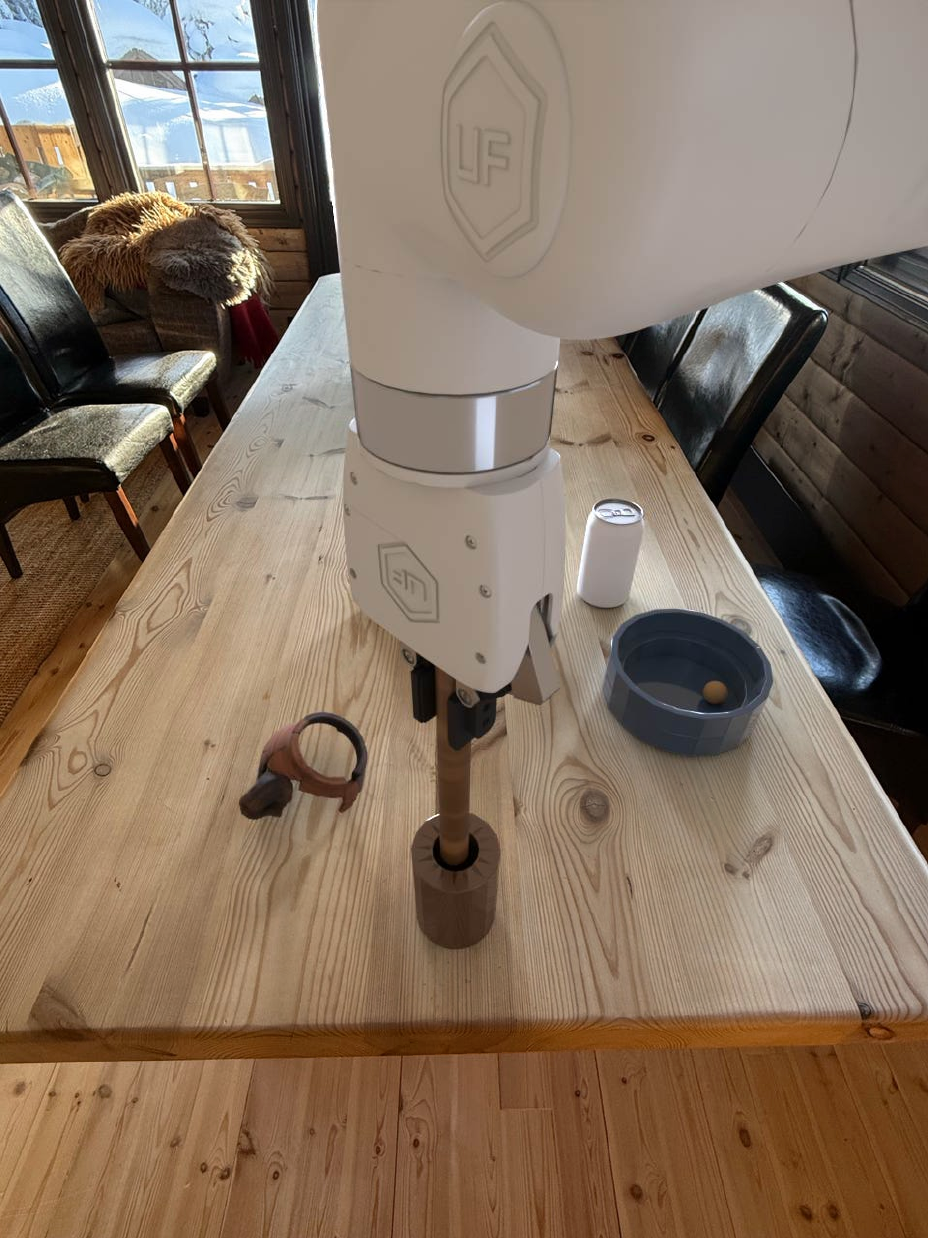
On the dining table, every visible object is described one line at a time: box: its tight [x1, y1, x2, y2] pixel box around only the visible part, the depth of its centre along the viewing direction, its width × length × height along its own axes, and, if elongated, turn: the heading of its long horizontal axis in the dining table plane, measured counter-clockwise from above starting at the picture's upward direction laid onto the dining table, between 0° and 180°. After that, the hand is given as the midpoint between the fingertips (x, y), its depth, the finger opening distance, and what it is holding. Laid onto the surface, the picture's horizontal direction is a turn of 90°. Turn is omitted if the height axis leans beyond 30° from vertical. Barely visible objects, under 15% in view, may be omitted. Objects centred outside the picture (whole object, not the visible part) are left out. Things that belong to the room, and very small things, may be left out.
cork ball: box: [703, 681, 728, 704], centre depth 67 cm, size 2×2×2 cm
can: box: [576, 497, 645, 609], centre depth 78 cm, size 6×6×12 cm
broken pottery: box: [238, 711, 369, 821], centre depth 58 cm, size 12×10×8 cm
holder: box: [410, 812, 502, 950], centre depth 49 cm, size 6×6×9 cm
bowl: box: [602, 607, 774, 757], centre depth 67 cm, size 15×15×6 cm
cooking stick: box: [435, 665, 472, 866], centre depth 40 cm, size 2×2×20 cm
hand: (454, 719), depth 37 cm, fingers closed on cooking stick, 2 cm apart
